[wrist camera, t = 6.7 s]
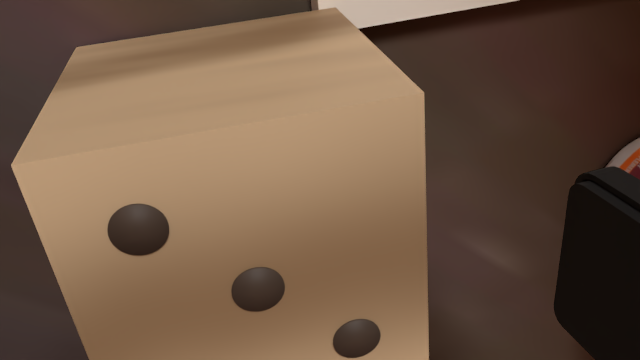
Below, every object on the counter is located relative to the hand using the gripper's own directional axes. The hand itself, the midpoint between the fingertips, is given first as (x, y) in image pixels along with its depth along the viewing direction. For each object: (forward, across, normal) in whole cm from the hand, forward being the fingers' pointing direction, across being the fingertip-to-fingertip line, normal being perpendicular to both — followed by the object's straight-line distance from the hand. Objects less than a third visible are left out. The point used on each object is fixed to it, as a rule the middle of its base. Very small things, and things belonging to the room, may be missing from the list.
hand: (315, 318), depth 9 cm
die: (+7, 0, 0) cm, 7 cm away
